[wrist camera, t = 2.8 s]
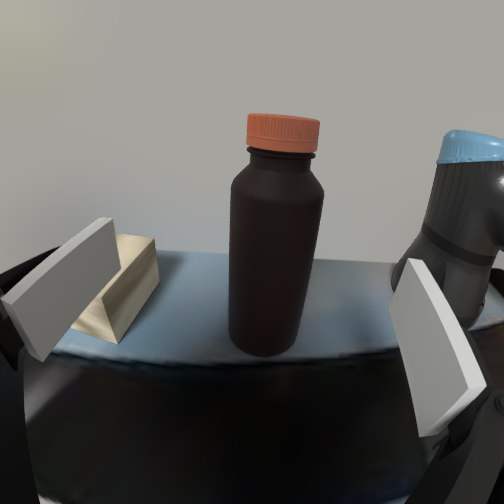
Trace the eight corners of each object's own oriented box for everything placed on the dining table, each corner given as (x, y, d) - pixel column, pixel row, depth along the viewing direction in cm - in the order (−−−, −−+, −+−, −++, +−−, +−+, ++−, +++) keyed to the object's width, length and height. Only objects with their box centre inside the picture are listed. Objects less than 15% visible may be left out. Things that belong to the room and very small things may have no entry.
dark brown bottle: (230, 360, 24) (236, 115, 14) (227, 311, 30) (232, 111, 20) (302, 356, 25) (350, 127, 15) (288, 309, 31) (315, 118, 21)
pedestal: (160, 281, 34) (154, 238, 31) (117, 344, 24) (101, 297, 21) (92, 267, 35) (83, 229, 32) (45, 317, 26) (27, 275, 23)
